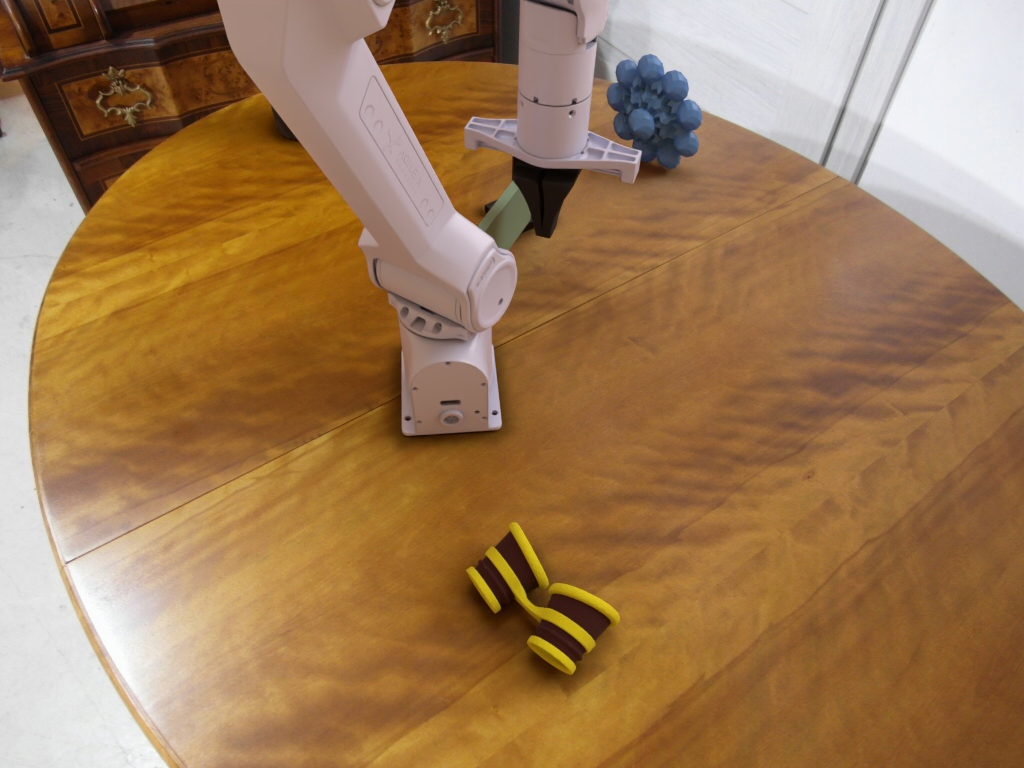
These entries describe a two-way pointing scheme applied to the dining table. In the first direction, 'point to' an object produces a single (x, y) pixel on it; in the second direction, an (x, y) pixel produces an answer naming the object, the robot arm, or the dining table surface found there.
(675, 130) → the grapes
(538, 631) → the opera glasses
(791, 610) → the dining table surface
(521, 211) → the gate door
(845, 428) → the dining table surface
